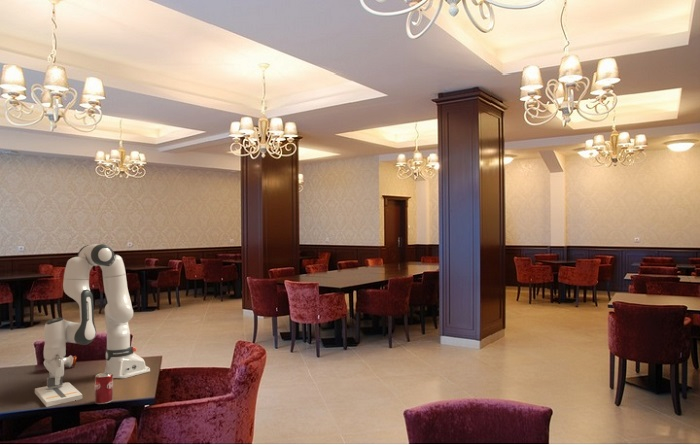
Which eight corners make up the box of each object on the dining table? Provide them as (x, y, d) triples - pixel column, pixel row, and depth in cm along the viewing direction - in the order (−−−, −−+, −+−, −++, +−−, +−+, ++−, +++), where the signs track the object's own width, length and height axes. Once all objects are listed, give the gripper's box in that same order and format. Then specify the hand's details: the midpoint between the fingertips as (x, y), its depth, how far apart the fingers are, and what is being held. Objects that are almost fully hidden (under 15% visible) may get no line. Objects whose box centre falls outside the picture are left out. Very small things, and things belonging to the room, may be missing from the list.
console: (68, 386, 233) (68, 381, 233) (82, 398, 214) (82, 394, 215) (34, 392, 223) (34, 388, 223) (46, 407, 205) (46, 402, 205)
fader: (60, 384, 227) (60, 374, 227) (62, 386, 224) (62, 376, 225) (46, 387, 223) (46, 377, 223) (48, 389, 220) (48, 379, 220)
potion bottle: (41, 374, 257) (72, 372, 266) (44, 366, 251) (76, 365, 261) (42, 358, 262) (73, 356, 271) (45, 350, 256) (76, 349, 266)
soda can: (93, 405, 206) (94, 378, 206) (95, 400, 213) (95, 373, 213) (112, 403, 209) (112, 375, 209) (113, 397, 216) (113, 371, 216)
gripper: (67, 356, 219) (67, 386, 219) (57, 348, 234) (57, 376, 233) (52, 358, 214) (52, 389, 214) (42, 350, 229) (42, 379, 229)
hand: (54, 382), depth 224 cm, fingers open, 8 cm apart
